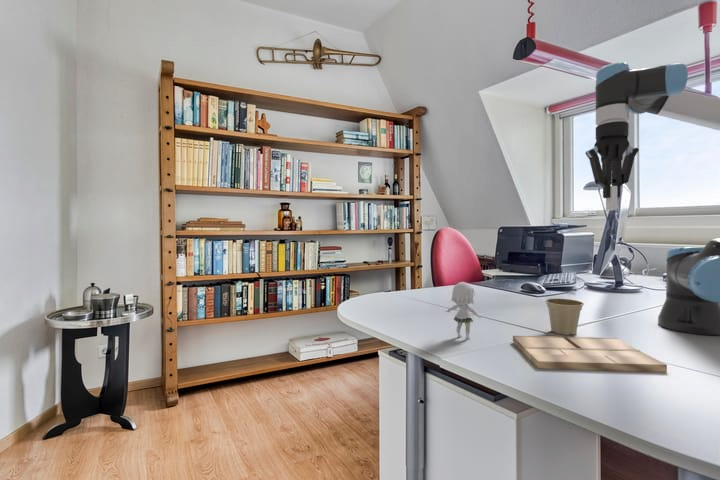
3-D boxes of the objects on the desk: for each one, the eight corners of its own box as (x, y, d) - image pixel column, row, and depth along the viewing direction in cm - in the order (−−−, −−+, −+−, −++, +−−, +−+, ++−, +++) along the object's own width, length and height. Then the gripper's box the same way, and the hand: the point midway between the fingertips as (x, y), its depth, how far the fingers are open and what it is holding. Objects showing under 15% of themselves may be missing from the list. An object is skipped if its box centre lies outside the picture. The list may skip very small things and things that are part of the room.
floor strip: (638, 356, 85) (638, 349, 85) (666, 372, 76) (666, 364, 76) (523, 353, 87) (523, 347, 87) (538, 368, 78) (538, 360, 78)
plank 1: (523, 352, 87) (523, 346, 87) (512, 341, 95) (512, 335, 95) (576, 354, 86) (576, 347, 86) (561, 342, 94) (561, 336, 94)
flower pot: (589, 338, 99) (589, 305, 98) (550, 336, 101) (550, 304, 100) (576, 328, 108) (576, 298, 108) (541, 327, 110) (541, 297, 110)
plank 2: (581, 354, 86) (582, 348, 86) (566, 342, 94) (566, 336, 94) (636, 355, 85) (636, 349, 85) (616, 343, 93) (616, 337, 93)
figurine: (486, 339, 98) (486, 282, 97) (475, 345, 93) (476, 285, 93) (450, 332, 105) (450, 279, 104) (439, 337, 100) (439, 281, 100)
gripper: (628, 126, 106) (627, 210, 106) (580, 128, 107) (580, 211, 107) (646, 119, 98) (645, 208, 99) (594, 121, 99) (594, 210, 100)
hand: (611, 210), depth 103 cm, fingers closed
